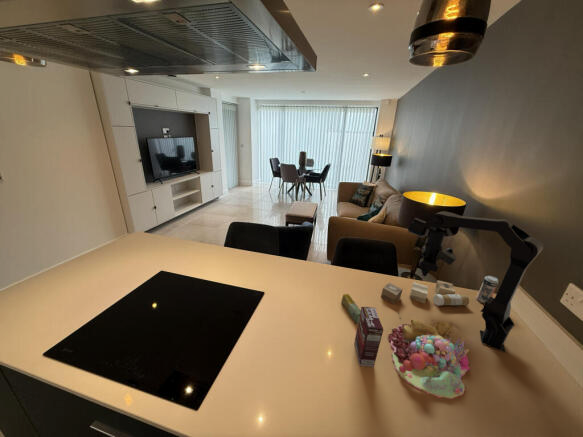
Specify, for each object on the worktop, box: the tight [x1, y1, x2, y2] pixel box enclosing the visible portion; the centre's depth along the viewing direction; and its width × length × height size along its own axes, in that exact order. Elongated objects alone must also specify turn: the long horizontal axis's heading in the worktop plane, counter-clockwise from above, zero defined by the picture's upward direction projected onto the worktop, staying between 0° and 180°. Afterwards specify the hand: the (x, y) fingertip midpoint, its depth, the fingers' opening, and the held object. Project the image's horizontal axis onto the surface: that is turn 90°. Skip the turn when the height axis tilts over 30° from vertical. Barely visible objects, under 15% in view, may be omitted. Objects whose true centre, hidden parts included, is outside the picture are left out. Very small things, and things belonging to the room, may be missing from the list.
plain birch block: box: [408, 281, 429, 304], centre depth 103 cm, size 6×6×5 cm
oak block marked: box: [434, 280, 456, 295], centre depth 105 cm, size 6×6×5 cm
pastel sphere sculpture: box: [387, 318, 470, 400], centre depth 74 cm, size 25×24×9 cm
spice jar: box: [475, 275, 499, 304], centre depth 101 cm, size 5×5×12 cm
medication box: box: [341, 293, 361, 324], centre depth 92 cm, size 12×3×4 cm, turn 16°
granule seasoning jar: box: [432, 293, 470, 307], centre depth 99 cm, size 5×5×14 cm
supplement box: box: [353, 306, 384, 367], centre depth 72 cm, size 9×5×16 cm, turn 177°
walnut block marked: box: [380, 282, 403, 305], centre depth 101 cm, size 6×6×5 cm
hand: (424, 274), depth 99 cm, fingers open, 3 cm apart
